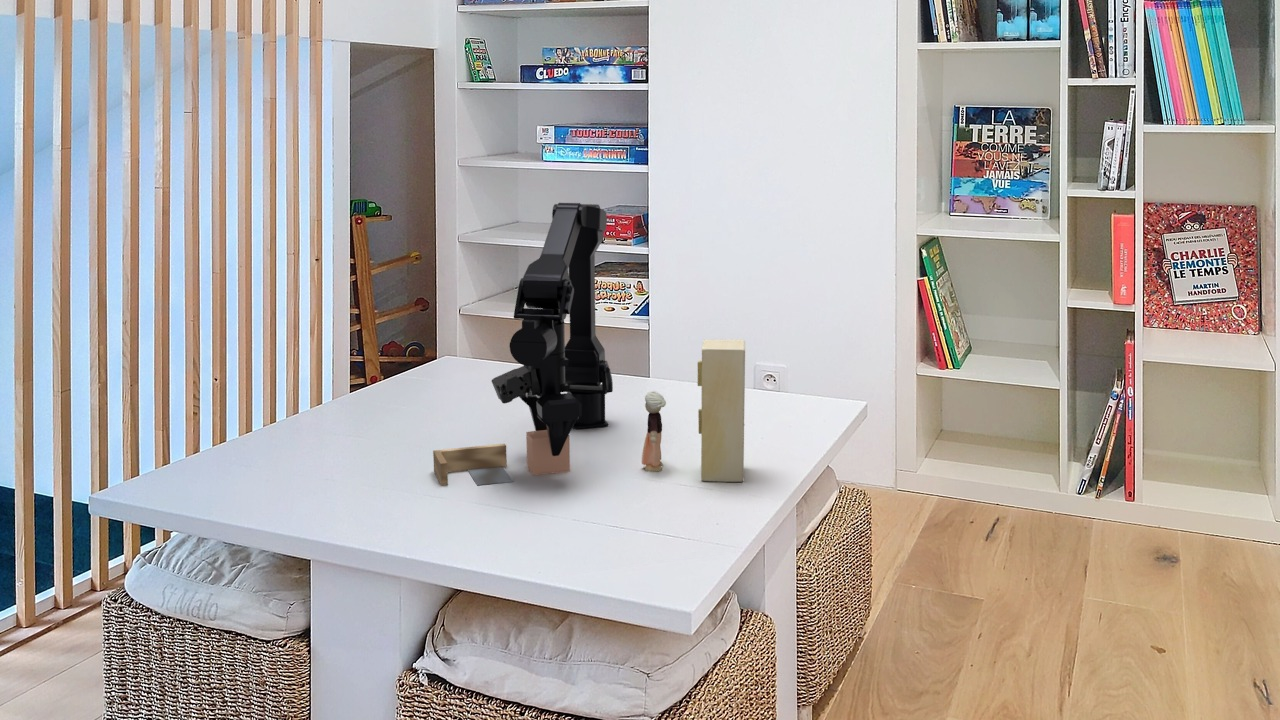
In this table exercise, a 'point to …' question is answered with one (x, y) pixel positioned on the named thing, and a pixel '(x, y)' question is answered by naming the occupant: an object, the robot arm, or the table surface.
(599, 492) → the table surface
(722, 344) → the toy refrigerator
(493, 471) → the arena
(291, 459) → the table surface
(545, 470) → the terracotta block
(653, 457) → the grandmother figurine
